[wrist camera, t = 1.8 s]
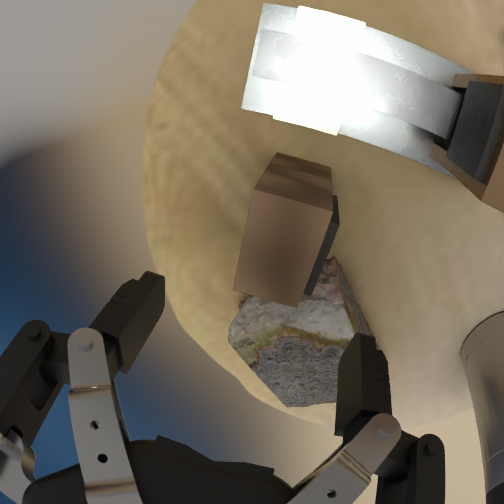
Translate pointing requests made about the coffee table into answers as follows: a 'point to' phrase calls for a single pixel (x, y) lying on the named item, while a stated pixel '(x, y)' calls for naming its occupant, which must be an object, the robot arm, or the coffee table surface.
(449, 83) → the grey and brown stand
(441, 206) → the coffee table surface
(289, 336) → the geological specimen
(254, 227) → the brown wooden block
